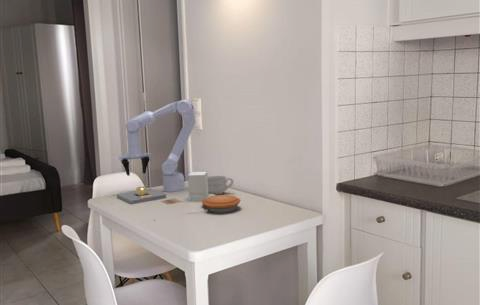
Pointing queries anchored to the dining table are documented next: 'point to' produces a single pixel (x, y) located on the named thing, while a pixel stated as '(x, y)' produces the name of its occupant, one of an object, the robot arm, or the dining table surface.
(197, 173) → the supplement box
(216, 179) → the teacup
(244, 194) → the dining table surface
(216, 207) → the pie
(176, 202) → the tan flat square
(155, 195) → the hole board
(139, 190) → the brass peg
